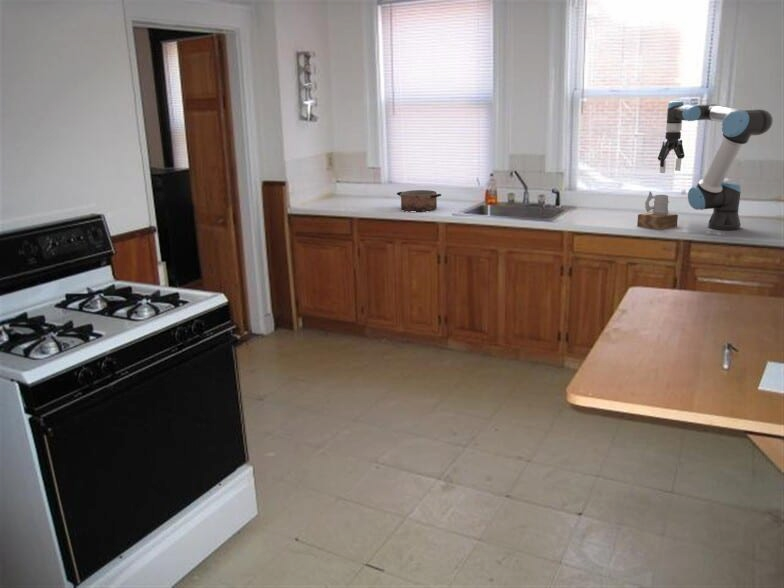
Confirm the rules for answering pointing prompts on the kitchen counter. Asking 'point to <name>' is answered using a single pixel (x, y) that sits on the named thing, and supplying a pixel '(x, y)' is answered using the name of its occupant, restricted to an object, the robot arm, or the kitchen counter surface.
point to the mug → (658, 204)
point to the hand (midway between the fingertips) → (670, 171)
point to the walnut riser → (657, 220)
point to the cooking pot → (419, 200)
